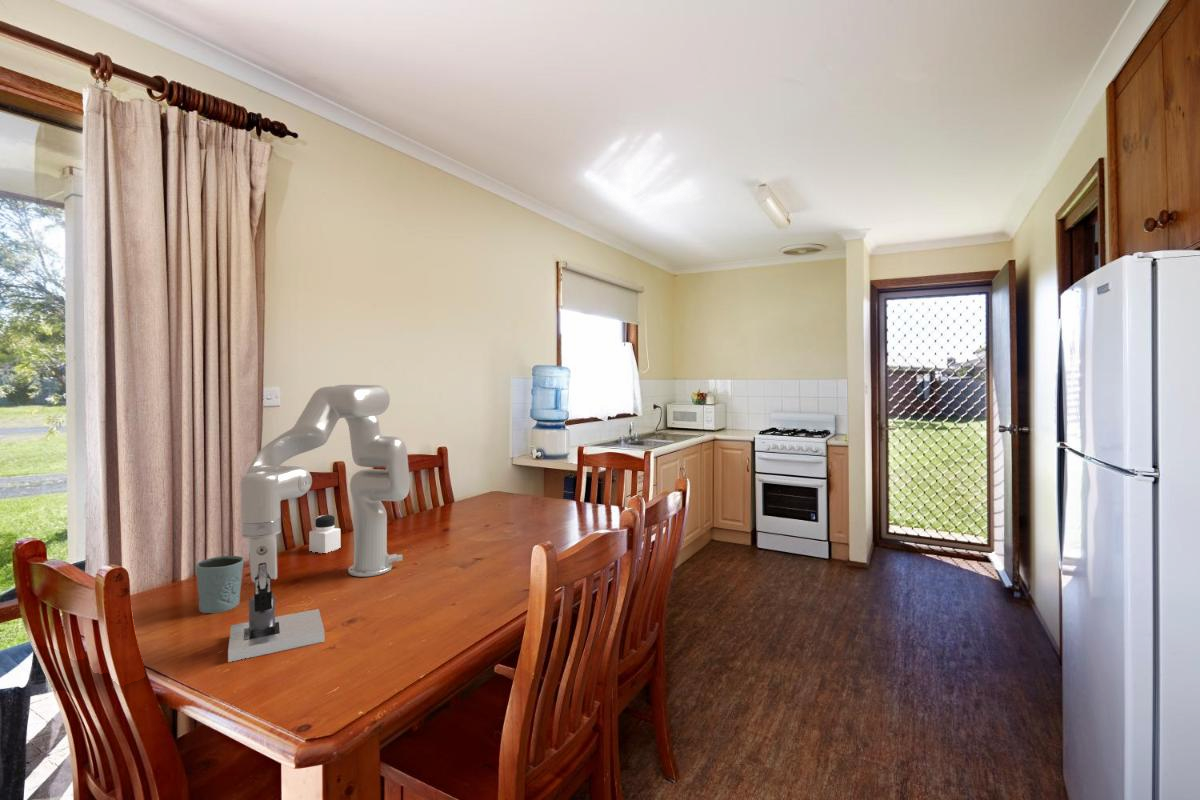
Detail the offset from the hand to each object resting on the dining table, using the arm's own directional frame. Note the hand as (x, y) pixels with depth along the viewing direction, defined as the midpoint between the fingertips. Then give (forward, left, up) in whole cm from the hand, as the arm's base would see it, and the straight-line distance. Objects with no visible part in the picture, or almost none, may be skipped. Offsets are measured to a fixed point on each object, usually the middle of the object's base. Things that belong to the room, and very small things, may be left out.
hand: (263, 602), depth 123 cm
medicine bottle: (-19, -68, -9) cm, 71 cm away
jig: (-3, 0, -9) cm, 9 cm away
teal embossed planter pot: (+9, -28, -9) cm, 30 cm away
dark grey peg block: (0, 0, -9) cm, 9 cm away
